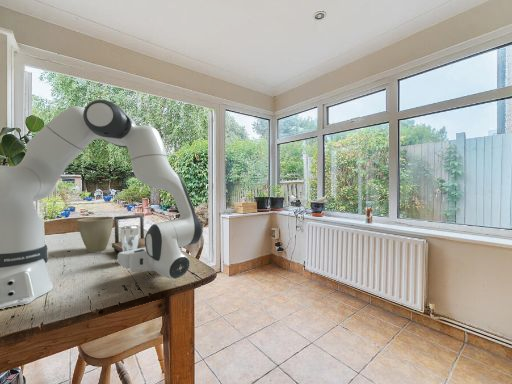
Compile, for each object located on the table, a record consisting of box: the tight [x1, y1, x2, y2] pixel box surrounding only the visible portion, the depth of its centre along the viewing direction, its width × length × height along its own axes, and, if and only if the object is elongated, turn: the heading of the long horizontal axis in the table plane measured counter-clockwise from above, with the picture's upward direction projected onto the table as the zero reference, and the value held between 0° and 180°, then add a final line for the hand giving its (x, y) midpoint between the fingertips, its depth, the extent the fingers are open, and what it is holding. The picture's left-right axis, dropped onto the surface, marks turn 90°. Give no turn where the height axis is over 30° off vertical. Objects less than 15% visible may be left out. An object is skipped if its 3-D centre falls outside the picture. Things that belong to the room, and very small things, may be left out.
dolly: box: [111, 213, 145, 253], centre depth 113 cm, size 16×13×17 cm
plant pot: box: [76, 216, 115, 253], centre depth 115 cm, size 15×15×16 cm
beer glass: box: [120, 225, 140, 252], centre depth 99 cm, size 7×7×15 cm
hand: (141, 248), depth 91 cm, fingers open, 8 cm apart
